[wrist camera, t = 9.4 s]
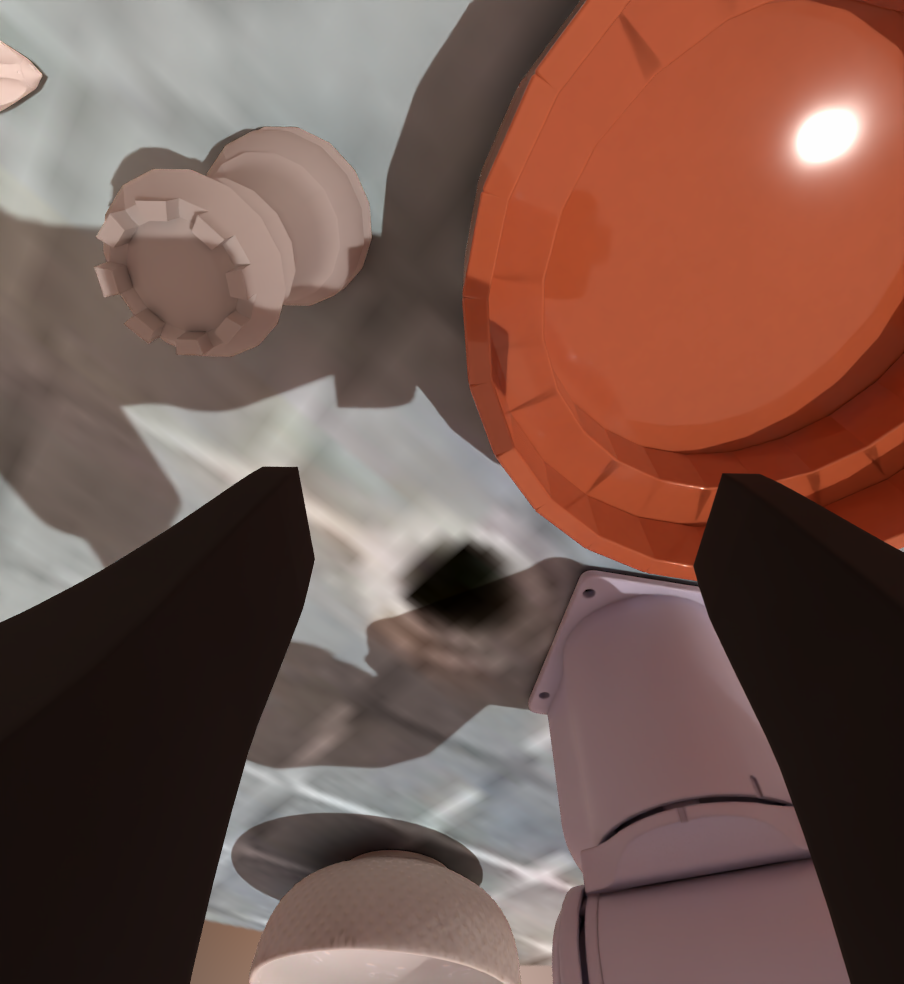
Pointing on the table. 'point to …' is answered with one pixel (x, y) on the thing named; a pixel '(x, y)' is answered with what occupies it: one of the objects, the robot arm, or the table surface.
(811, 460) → the terracotta bowl
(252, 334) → the rook chess piece
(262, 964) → the cereal bowl
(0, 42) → the pink cylindrical rod
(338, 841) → the table surface
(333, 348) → the table surface
